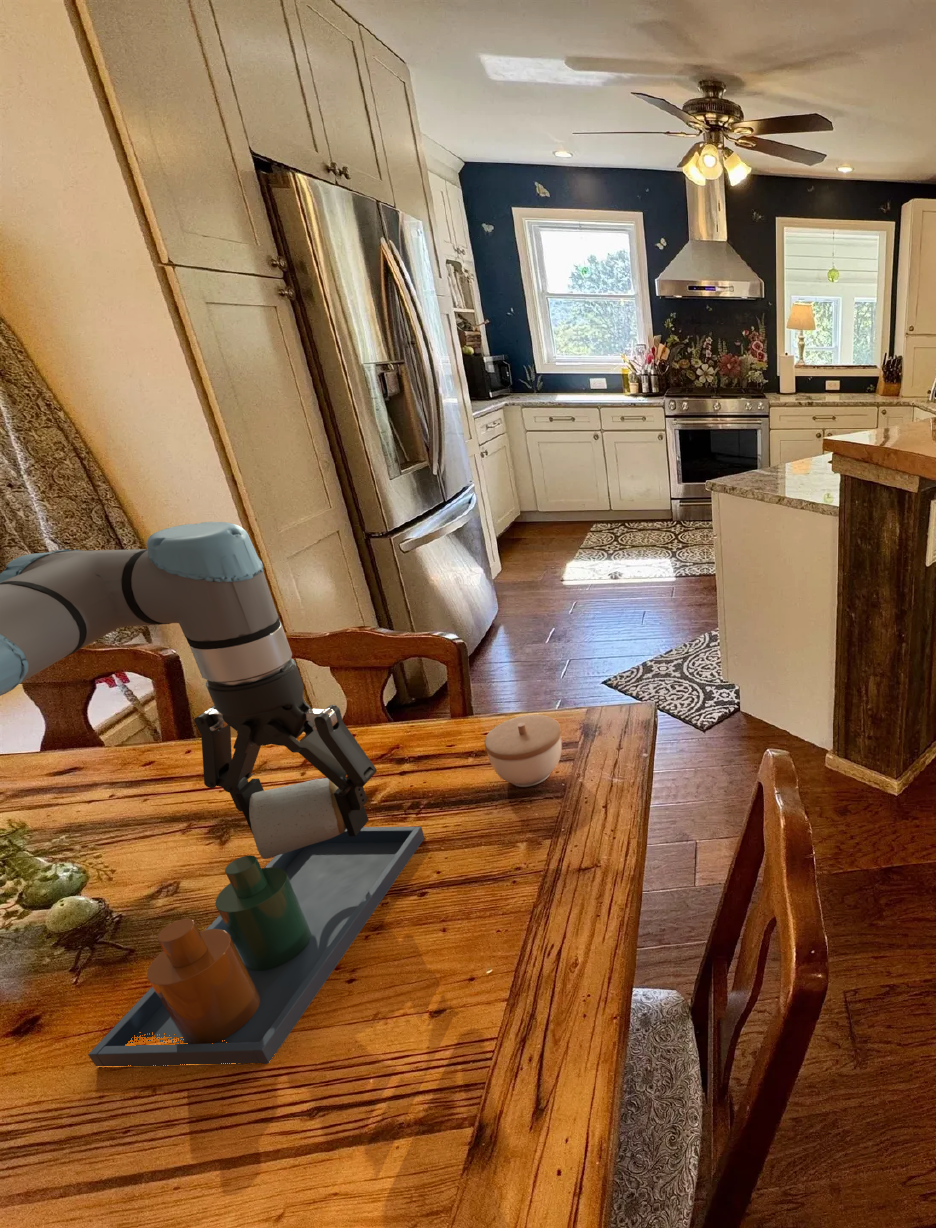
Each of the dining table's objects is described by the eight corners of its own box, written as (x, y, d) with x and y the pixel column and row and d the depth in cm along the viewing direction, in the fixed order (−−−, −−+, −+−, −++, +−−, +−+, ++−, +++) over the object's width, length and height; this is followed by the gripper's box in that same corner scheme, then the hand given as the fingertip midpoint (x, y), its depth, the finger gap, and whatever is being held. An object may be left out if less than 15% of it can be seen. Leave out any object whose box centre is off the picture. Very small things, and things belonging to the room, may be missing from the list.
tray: (99, 1072, 62) (87, 1055, 61) (307, 842, 88) (301, 827, 87) (270, 1067, 62) (261, 1050, 61) (425, 840, 89) (421, 826, 88)
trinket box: (579, 774, 103) (571, 724, 99) (511, 807, 96) (500, 755, 92) (547, 745, 110) (539, 697, 106) (482, 774, 102) (470, 724, 98)
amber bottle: (166, 1047, 63) (112, 959, 58) (215, 989, 69) (169, 904, 63) (230, 1045, 64) (182, 957, 58) (274, 987, 69) (233, 903, 64)
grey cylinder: (353, 843, 77) (335, 791, 74) (265, 873, 73) (243, 819, 70) (347, 795, 85) (332, 746, 82) (268, 819, 81) (248, 768, 78)
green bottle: (230, 971, 70) (186, 887, 65) (270, 924, 76) (233, 843, 71) (287, 970, 71) (249, 886, 66) (323, 923, 76) (290, 842, 71)
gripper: (380, 652, 73) (425, 806, 82) (168, 651, 72) (238, 808, 81) (338, 686, 66) (392, 850, 76) (104, 686, 65) (187, 853, 74)
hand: (312, 828), depth 78 cm, fingers closed on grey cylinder, 10 cm apart
